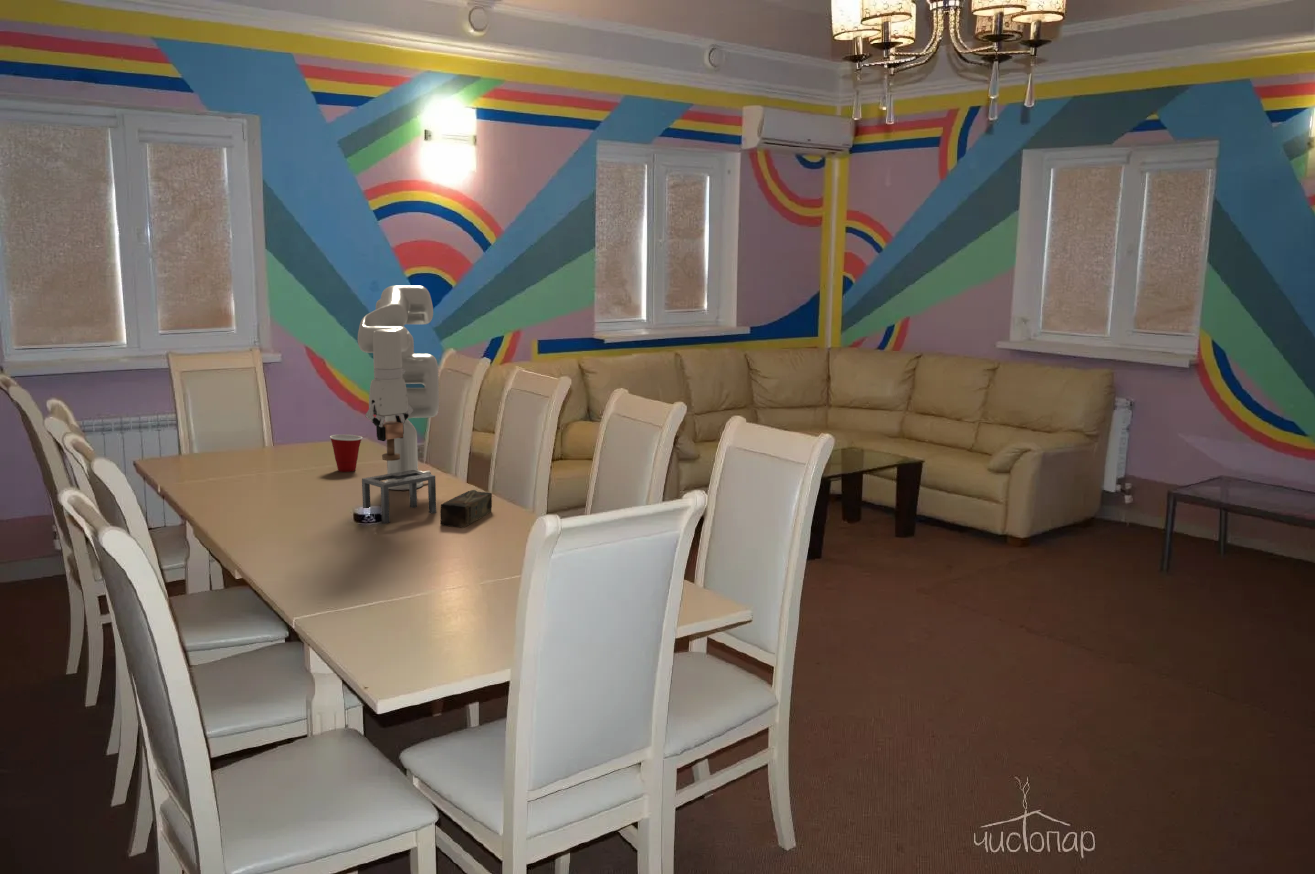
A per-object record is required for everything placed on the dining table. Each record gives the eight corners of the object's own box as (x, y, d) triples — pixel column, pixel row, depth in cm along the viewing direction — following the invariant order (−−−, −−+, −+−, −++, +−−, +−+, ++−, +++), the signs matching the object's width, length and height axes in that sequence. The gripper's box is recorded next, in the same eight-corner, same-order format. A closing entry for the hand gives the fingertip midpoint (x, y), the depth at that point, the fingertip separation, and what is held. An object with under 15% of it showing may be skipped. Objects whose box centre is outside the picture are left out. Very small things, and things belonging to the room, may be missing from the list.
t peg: (393, 456, 287) (392, 420, 285) (404, 458, 283) (402, 423, 281) (378, 458, 283) (377, 422, 281) (388, 461, 280) (387, 425, 278)
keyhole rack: (414, 506, 299) (413, 469, 297) (436, 512, 292) (435, 475, 290) (363, 516, 287) (361, 478, 285) (384, 523, 280) (383, 484, 278)
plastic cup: (368, 471, 346) (367, 436, 344) (337, 474, 339) (336, 439, 337) (356, 465, 354) (355, 431, 352) (326, 469, 348) (324, 434, 345)
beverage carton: (493, 512, 295) (493, 490, 294) (465, 529, 277) (465, 505, 275) (468, 509, 297) (467, 488, 296) (438, 526, 278) (438, 503, 277)
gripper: (406, 370, 287) (408, 433, 291) (353, 375, 275) (356, 441, 278) (422, 373, 282) (423, 436, 286) (368, 378, 270) (371, 445, 273)
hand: (390, 438), depth 282 cm, fingers closed on t peg, 5 cm apart
